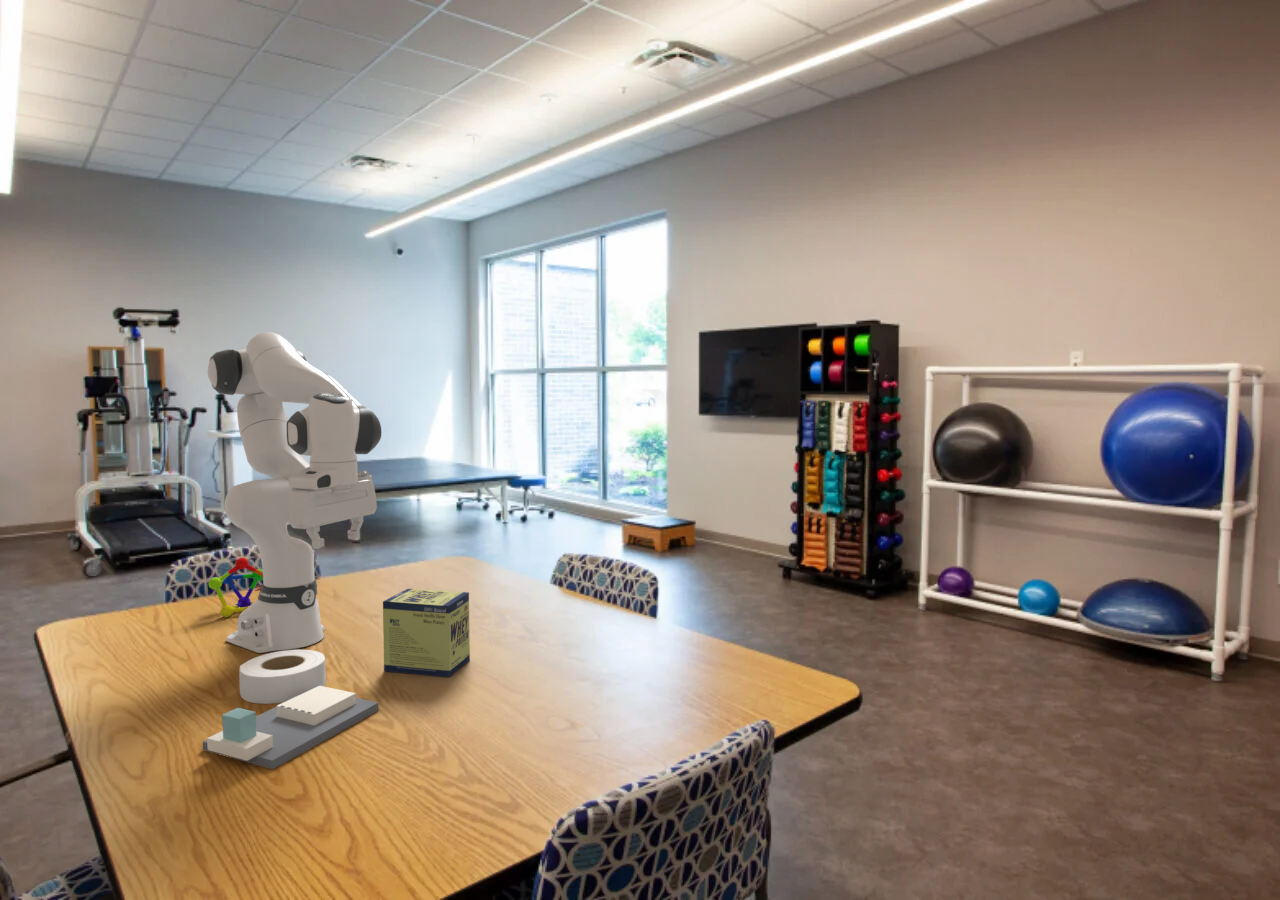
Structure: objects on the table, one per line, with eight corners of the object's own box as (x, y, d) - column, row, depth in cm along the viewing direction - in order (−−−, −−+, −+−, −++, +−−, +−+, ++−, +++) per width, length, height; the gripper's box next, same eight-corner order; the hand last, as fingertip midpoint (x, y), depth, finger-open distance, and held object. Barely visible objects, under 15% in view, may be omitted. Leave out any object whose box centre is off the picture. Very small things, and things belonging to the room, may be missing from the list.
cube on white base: (207, 749, 126) (205, 714, 126) (234, 736, 131) (232, 702, 130) (247, 760, 123) (245, 724, 122) (273, 747, 127) (271, 712, 127)
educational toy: (264, 604, 216) (267, 551, 215) (275, 616, 205) (278, 560, 205) (201, 609, 206) (204, 553, 205) (209, 621, 196) (213, 563, 195)
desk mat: (202, 750, 129) (202, 741, 129) (314, 696, 151) (314, 688, 151) (272, 769, 123) (272, 760, 123) (378, 710, 145) (378, 702, 145)
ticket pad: (276, 716, 139) (276, 705, 138) (319, 695, 148) (319, 685, 148) (314, 725, 135) (314, 713, 135) (356, 703, 144) (355, 692, 144)
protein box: (450, 678, 161) (449, 605, 159) (382, 672, 164) (380, 600, 162) (471, 660, 171) (470, 591, 170) (407, 655, 174) (405, 587, 173)
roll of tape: (243, 680, 160) (241, 654, 159) (325, 669, 166) (324, 644, 165) (236, 710, 145) (235, 682, 145) (326, 697, 151) (325, 669, 151)
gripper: (359, 468, 164) (361, 532, 166) (281, 480, 146) (284, 552, 147) (383, 470, 162) (384, 535, 163) (306, 482, 143) (308, 555, 144)
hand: (336, 543), depth 155 cm, fingers open, 8 cm apart
